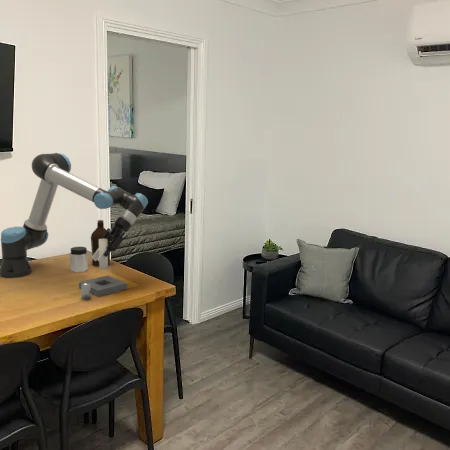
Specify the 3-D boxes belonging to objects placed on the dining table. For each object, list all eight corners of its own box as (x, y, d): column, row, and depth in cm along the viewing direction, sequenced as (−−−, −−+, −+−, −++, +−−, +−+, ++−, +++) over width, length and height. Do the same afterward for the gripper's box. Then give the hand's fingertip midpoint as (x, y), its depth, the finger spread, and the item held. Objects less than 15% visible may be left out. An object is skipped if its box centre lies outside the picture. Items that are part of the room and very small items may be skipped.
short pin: (79, 298, 214) (79, 283, 213) (87, 296, 217) (87, 281, 216) (84, 300, 212) (84, 285, 210) (92, 298, 215) (92, 283, 213)
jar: (82, 273, 251) (81, 250, 249) (67, 271, 252) (67, 249, 250) (90, 268, 260) (89, 247, 257) (76, 267, 261) (75, 245, 259)
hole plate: (79, 288, 227) (78, 282, 227) (107, 281, 239) (107, 275, 239) (98, 296, 217) (98, 290, 216) (127, 289, 229) (127, 283, 228)
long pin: (97, 268, 226) (96, 239, 223) (104, 266, 229) (104, 238, 226) (102, 270, 223) (101, 240, 221) (109, 268, 226) (109, 239, 223)
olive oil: (112, 261, 274) (111, 218, 269) (109, 267, 264) (108, 222, 259) (93, 261, 273) (92, 218, 268) (89, 266, 263) (88, 222, 258)
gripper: (140, 228, 228) (112, 268, 219) (119, 223, 239) (91, 261, 230) (131, 219, 223) (102, 259, 214) (110, 214, 234) (81, 252, 225)
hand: (96, 260), depth 222 cm, fingers closed on long pin, 4 cm apart
